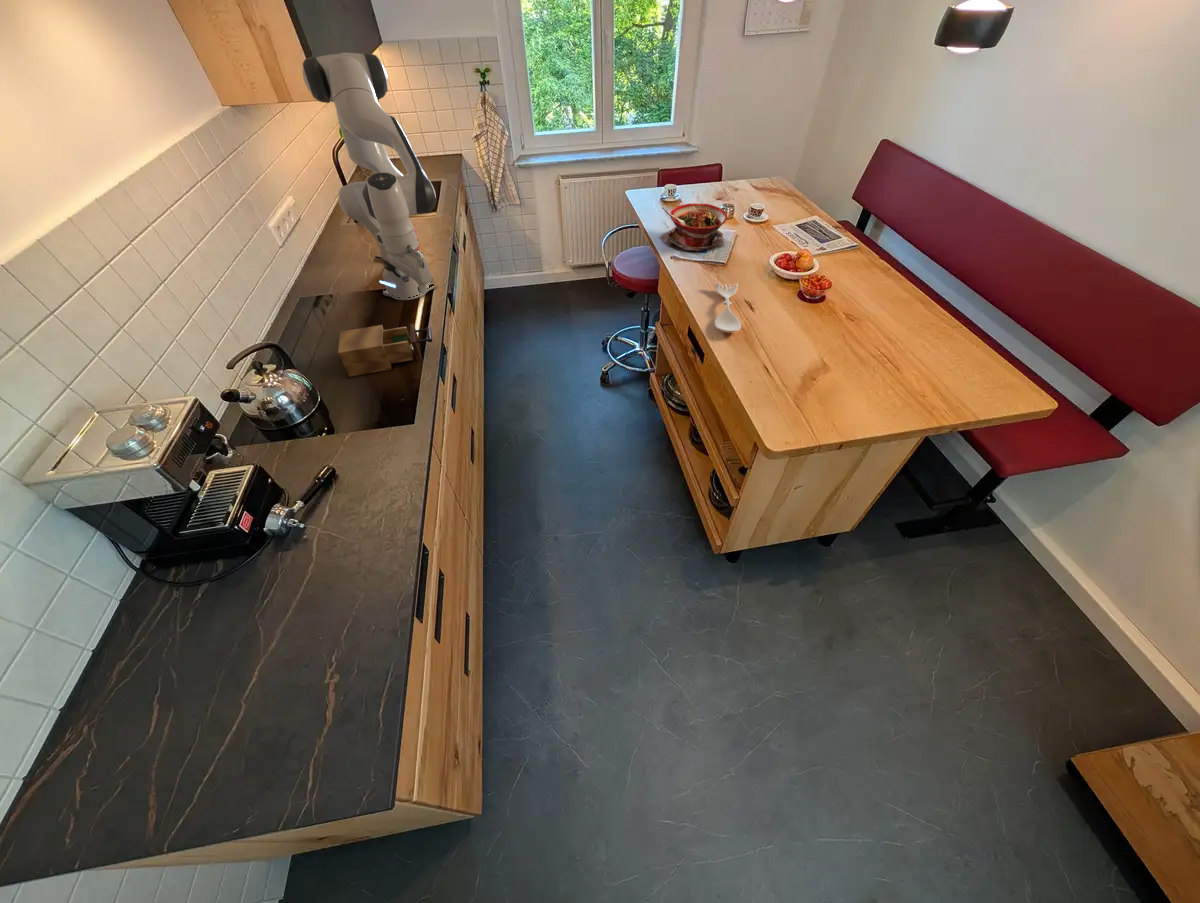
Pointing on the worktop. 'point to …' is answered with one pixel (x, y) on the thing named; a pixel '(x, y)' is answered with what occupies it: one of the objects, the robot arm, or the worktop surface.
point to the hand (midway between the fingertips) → (414, 286)
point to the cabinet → (363, 350)
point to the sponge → (400, 339)
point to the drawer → (403, 344)
